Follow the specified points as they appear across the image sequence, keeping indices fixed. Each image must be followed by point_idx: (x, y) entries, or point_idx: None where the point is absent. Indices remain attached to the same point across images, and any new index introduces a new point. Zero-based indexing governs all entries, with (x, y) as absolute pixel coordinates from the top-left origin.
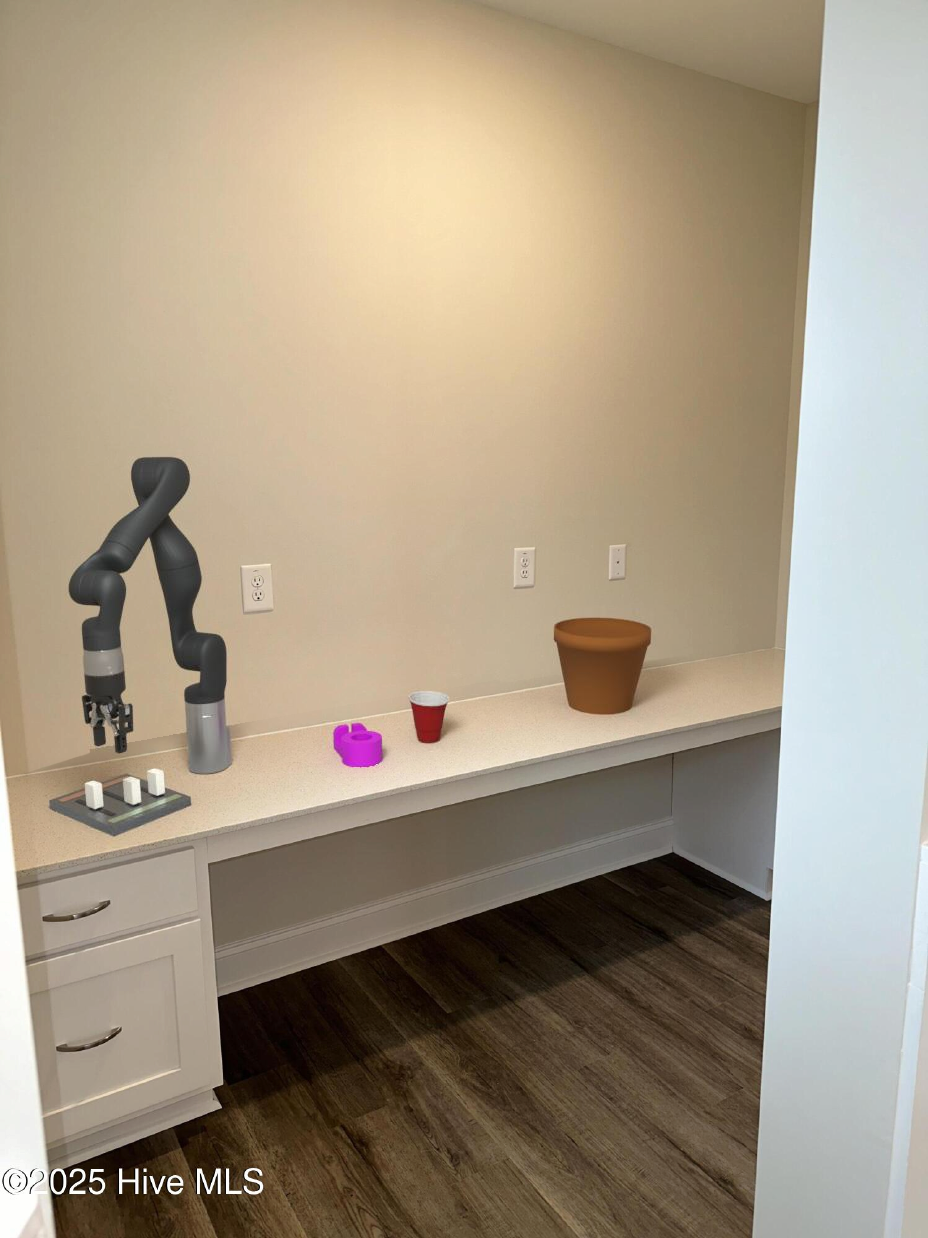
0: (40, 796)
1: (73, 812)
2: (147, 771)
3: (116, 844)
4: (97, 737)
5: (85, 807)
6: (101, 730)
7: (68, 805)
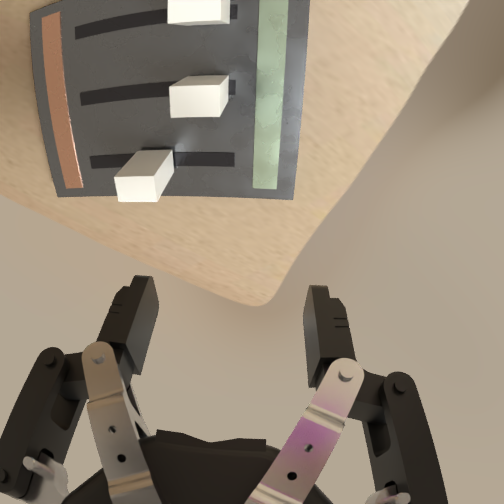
0: (9, 171)
1: None
2: (170, 23)
3: (325, 207)
4: (147, 334)
5: None
6: (135, 344)
7: (104, 188)
